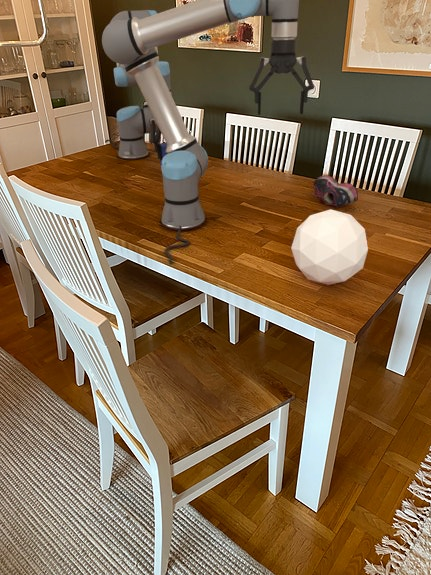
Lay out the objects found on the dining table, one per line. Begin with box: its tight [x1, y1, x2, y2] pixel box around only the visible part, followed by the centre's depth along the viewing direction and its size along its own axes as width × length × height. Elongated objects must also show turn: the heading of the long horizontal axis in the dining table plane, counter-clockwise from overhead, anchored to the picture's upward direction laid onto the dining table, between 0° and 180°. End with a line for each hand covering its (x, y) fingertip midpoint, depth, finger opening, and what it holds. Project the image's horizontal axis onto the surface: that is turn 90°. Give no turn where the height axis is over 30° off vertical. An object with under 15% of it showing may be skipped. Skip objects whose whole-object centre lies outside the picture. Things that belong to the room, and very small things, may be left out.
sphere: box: [290, 208, 369, 286], centre depth 117 cm, size 19×20×20 cm
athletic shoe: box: [311, 174, 359, 208], centre depth 165 cm, size 11×22×12 cm
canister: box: [159, 141, 167, 166], centre depth 198 cm, size 7×7×9 cm
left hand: (167, 157), depth 199 cm, fingers closed on canister, 7 cm apart
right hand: (280, 113), depth 143 cm, fingers open, 13 cm apart
